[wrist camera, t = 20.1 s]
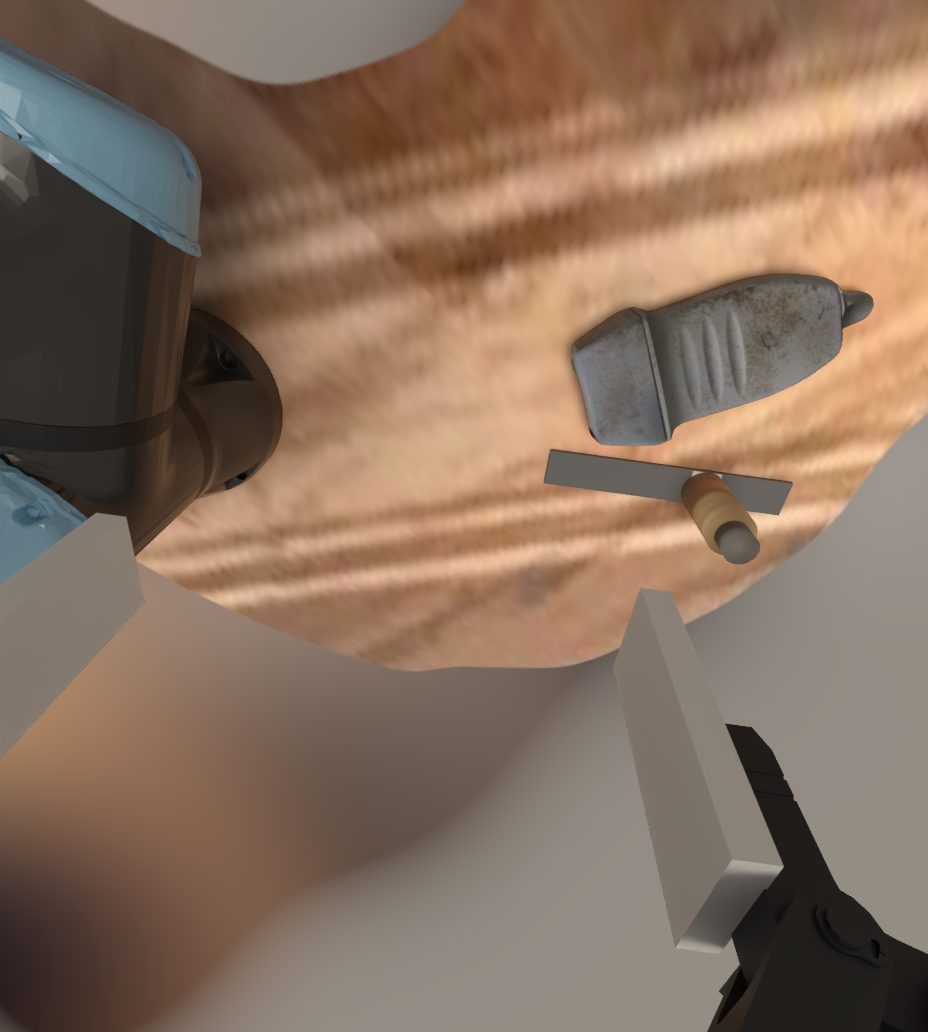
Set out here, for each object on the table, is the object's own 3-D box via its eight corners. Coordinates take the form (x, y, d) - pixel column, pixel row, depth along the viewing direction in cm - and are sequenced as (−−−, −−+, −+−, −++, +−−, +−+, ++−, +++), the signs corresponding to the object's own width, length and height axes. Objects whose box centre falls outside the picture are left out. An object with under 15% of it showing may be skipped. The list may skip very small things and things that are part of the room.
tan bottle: (676, 507, 47) (708, 567, 39) (687, 470, 45) (724, 525, 38) (717, 511, 47) (758, 573, 39) (730, 474, 45) (775, 531, 38)
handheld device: (862, 361, 41) (899, 379, 37) (593, 443, 46) (601, 466, 42) (857, 224, 37) (899, 227, 33) (562, 329, 41) (567, 343, 37)
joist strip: (544, 481, 47) (544, 483, 47) (550, 449, 46) (551, 450, 45) (777, 513, 47) (778, 515, 47) (791, 482, 46) (793, 484, 45)
